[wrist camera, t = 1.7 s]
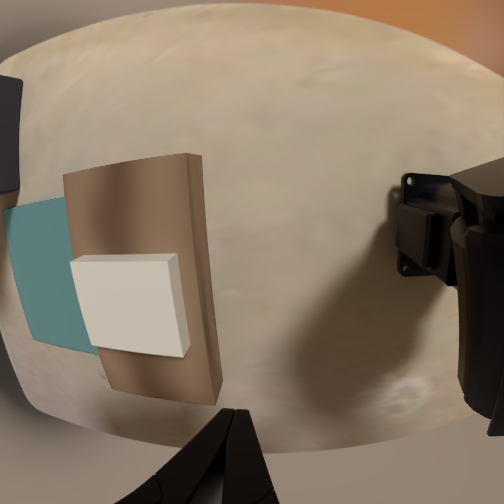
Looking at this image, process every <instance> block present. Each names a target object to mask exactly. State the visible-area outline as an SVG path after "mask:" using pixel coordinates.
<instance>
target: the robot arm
mask: <svg viewBox="0 0 504 504" xmlns="http://www.w3.org/2000/svg"><path fill="white" fill-rule="evenodd" d="M409 177H410V178H411V180H412V182H411V184H410V185H409V184H408V183H407V179H408V178H409ZM396 247H397V248H398V250H399V251H398V262H397V271H398V273H399V274H400V275H402V276H404V277H410V276H429V275H435V276H436V277H437V278H439V279H440V280H441V281H443V282H444V283H445V284H446V285H448V286H453V287H454V288H455V289H457V290H458V307H459V361H458V379H459V382H460V385H461V388H462V391H463V393H464V400H465V402H466V403H467V404H468V405H469V406H470V407H471V408H472V409H473V410H474V411H476V412H477V413H479V414H481V415H482V416H484V417H486V418H488V419H491V421H490V424H489V428H488V431H487V434H488V436H504V157H503V158H500V159H497V160H494V161H491V162H488V163H485V164H482V165H479V166H476V167H473V168H470V169H467V170H464V171H461V172H458V173H455V174H452V175H450V176H442V175H431V174H418V173H405V174H404V175H403V176H402V178H401V204H400V205H399V206H398V211H397V234H396ZM406 265H407V269H406V270H405V271H403V270H402V269H403V267H404V266H406ZM114 504H279V501H278V498H277V495H276V492H275V491H274V487H273V484H272V481H271V478H270V475H269V472H268V469H267V466H266V463H265V460H264V457H263V454H262V451H261V448H260V444H259V441H258V438H257V435H256V432H255V428H254V425H253V422H252V419H251V415H250V412H249V410H247V409H236V410H235V409H230V408H222V409H221V410H220V411H219V412H218V413H217V414H216V415H215V416H214V417H213V418H212V419H211V420H210V421H209V422H208V423H207V424H206V425H205V426H204V427H203V428H202V429H201V430H200V431H199V432H198V433H197V434H196V435H195V436H194V437H193V438H192V439H191V440H190V441H189V442H188V443H187V444H186V445H185V446H184V447H183V448H182V449H181V450H180V451H179V452H178V453H177V454H176V455H175V456H174V457H173V458H172V459H170V460H169V461H168V462H167V463H166V464H165V465H164V466H163V467H162V468H161V469H159V470H158V471H157V472H156V475H153V476H152V477H150V478H149V479H148V480H147V481H146V482H145V483H143V484H142V485H141V486H140V487H138V488H137V489H136V490H135V491H133V492H132V493H130V494H129V495H127V496H126V497H124V498H123V499H121V500H119V501H118V502H116V503H114Z"/></svg>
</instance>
